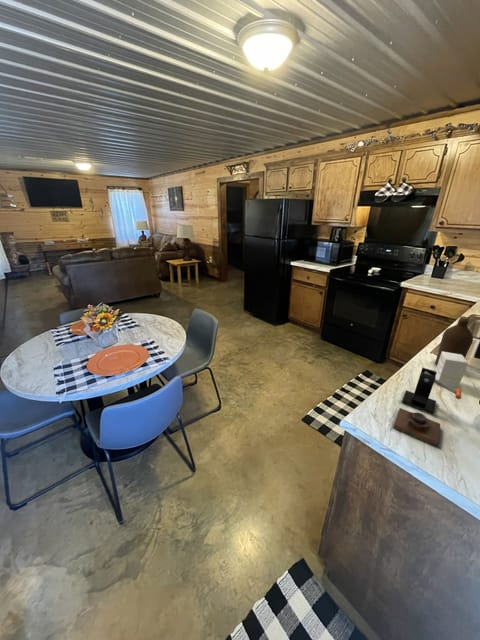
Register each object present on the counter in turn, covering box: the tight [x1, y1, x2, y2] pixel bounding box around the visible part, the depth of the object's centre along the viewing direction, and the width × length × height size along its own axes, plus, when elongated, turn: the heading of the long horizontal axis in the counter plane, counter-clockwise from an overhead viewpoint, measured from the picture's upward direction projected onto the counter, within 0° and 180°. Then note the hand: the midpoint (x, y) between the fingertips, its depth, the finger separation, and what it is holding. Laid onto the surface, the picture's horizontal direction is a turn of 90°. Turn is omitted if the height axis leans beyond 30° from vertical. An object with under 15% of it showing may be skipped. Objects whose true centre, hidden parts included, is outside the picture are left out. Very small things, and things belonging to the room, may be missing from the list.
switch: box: [424, 371, 463, 400], centre depth 93 cm, size 12×5×2 cm, turn 51°
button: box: [412, 412, 427, 424], centre depth 86 cm, size 4×4×2 cm
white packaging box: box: [434, 351, 469, 390], centre depth 109 cm, size 7×7×13 cm
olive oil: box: [434, 315, 474, 367], centre depth 119 cm, size 11×11×25 cm
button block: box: [392, 407, 441, 447], centre depth 87 cm, size 12×10×4 cm
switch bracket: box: [401, 367, 437, 416], centre depth 97 cm, size 10×8×14 cm
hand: (479, 358), depth 83 cm, fingers closed
